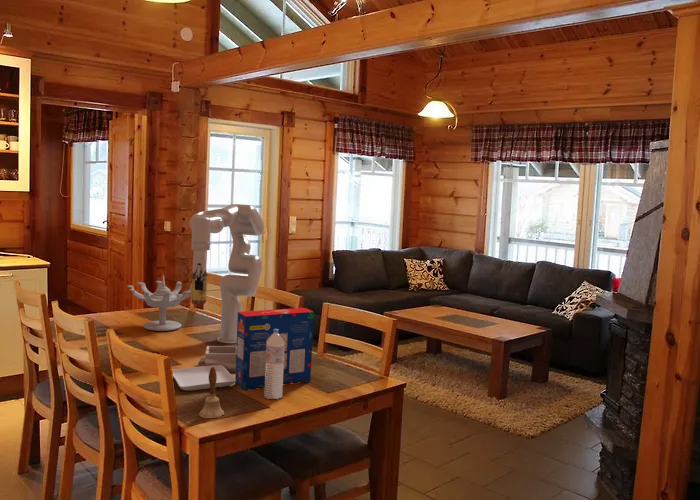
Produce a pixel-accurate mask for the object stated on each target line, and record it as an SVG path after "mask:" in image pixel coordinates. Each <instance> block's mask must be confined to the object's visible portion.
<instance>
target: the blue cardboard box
mask: <svg viewBox="0 0 700 500" xmlns="http://www.w3.org/2000/svg"><path fill="white" fill-rule="evenodd" d="M314 313H315V312H314V311H313V310H311V309H308V308H307V307H294V308H293V307H292V308H281V309H280V308H278V309H263V310H262V309H261V310H249V311H248V310H246V311H242V312H238V321H237V343H236V346H237V349H236V373H235V376H234V378H235V379H236V382H235V383H234V384H235V386H237V387H238V386H239V387H240V388H241V389H240V388H239V387H238V388H239V389H240V390H241V391H243V390H245V391H249V390H248V389H252V390H257V389H256V388H260V389H264V388H263V387H264V377H265V376H264V375H265V358H266V340H267V338H268V337H269V336H270V335H271V334H273V333H274V332H273V329H278V330H279V331H278V334H280V335H281V336H282V337H283V338H284V340H285V345H284V374H283V375H284V376H283V384H290V385H292V384H291V383H298V382H305V383H307V382H306V381H310V382H311V378H312V358H313V357H312V356H313V340H314V339H313V337H314V318H315V314H314ZM298 384H299V383H298Z"/></svg>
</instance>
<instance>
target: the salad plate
mask: <svg viewBox="0 0 700 500" xmlns="http://www.w3.org/2000/svg"><path fill="white" fill-rule="evenodd" d="M211 367H215V371H216V374H217V380H216V384H215V389H217V387H219V388H224V387H229V386H232V385H234V384H235V382H236V379H235V376H233V375H232V373H229V372H228V371H227V370H226V369H225V368H224V367H223V366H222V365H211V366H201V367H199V366H192V367H191V366H190V367H184V368H176V369H175V368H174V369H171V370H172V371H173V376H172V378H173V379H174V380H175V382H176V384H177V385H178V387H179V388H180V390H182V391H198V390H199V391H200V390H208V389H209V388H210V383H209V372H210V370H211ZM209 390H210V389H209Z"/></svg>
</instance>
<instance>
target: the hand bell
mask: <svg viewBox="0 0 700 500" xmlns="http://www.w3.org/2000/svg"><path fill="white" fill-rule="evenodd" d="M216 380H217V374H216V371H215V367H211V370H210V372H209V383H210V389H209V396H207V397H206V398H205V399H204V400H205V401H204V406H203V407H202V409H201V410H200V411H199V413H198V416H199V417H200V418H203V419H206V418H216V417H220V416H222V415H224V416H225V414H224V413H225V411H224V410H223V409H222V407H221V404H220V398H219V397H217V396H216V388H215V384H216ZM222 417H223V416H222ZM220 418H221V417H220Z"/></svg>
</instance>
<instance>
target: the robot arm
mask: <svg viewBox="0 0 700 500" xmlns="http://www.w3.org/2000/svg"><path fill="white" fill-rule="evenodd" d="M189 227H190V229H191V248H190V249H191V250H192V251H193V254H192V255H193V256H192V275H193V274H194V272H196V279H195V290H203V280H202V278H203V274H204V273H205V269H207V260H208V259H207V258H208V257H207V256H208V251H210V250H211V234H218V233H220V232H222V231H223V229H224V228H226V227H228V229H229V232H230V235H231V238H232V248H231V252H230V256H229V260H228V265H227V266H228V270H229V272H230V273H233V274H226V275H223V276H222V277H221V279H220V281H219V289H220V295H221V307H220V308H221V311H220V313H221V314H220V335H218V337H217V338H216V341H217V342H219V343H221V344H237V321H238V312H243V303H242V301H241V299H240V297H247V298H248V297H249V298H251V297H253V296H255V295H256V294H257V290H258V287H259V286H258V285H259V282H260V278H261V273H262V269H263V268H262V267H263V265H262V264H263V262H262V259H261V257H260V256H259V255H254V254H250V252H251V243H250V241H249V240H248V238H247V236H255V237H258V236H261V235H262V234H263V232H265V230H264V229H265V222H264V219H263V218H262V216H261V215H260V213H259V211H258V210H257V209H256V208H255V207H254V206H253V205H251V204H240V203H239V204H238V203H233V204H229V205H227V206H224V207H221V208H217V209H211V210H204V211H199V212H196V213H195V214H193V215H192V216H191V217H190V219H189ZM200 272H202V273H200ZM247 275H248V276H247ZM239 296H240V297H239Z"/></svg>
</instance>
